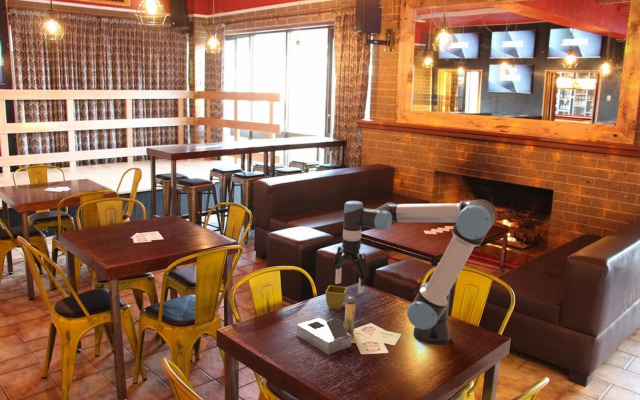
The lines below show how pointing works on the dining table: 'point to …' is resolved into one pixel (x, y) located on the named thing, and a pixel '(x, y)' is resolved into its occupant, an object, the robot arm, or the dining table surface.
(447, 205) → the robot arm
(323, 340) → the block
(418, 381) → the dining table surface
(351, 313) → the lynch pin
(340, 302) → the flower pot
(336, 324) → the ring flap
